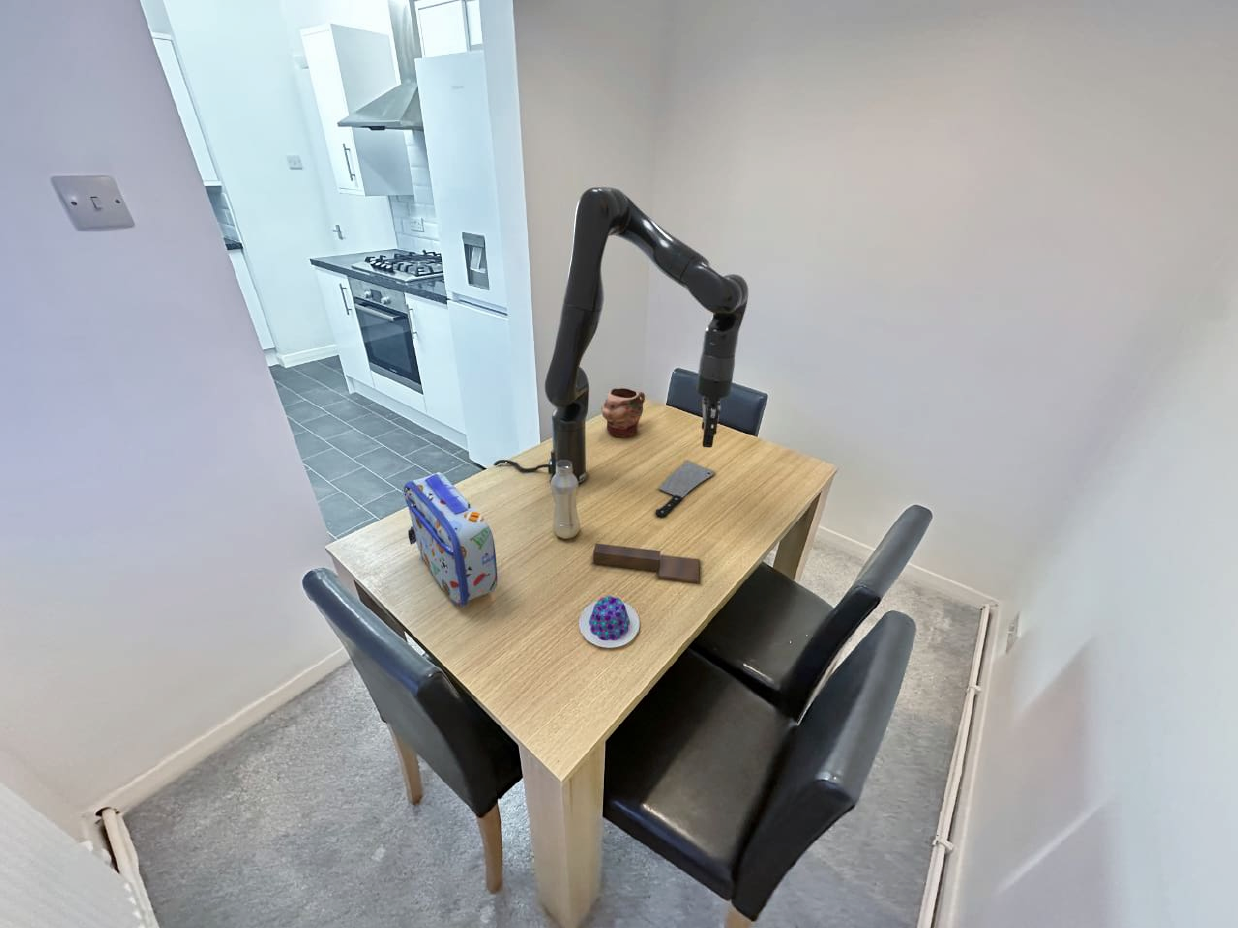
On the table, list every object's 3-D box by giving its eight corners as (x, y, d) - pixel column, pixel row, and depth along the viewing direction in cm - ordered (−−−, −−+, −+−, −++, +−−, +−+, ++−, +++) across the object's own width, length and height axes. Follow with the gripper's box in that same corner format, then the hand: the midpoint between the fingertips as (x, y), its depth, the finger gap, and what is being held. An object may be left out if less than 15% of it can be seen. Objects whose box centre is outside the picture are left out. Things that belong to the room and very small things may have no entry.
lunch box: (407, 549, 114) (386, 470, 103) (449, 531, 120) (434, 454, 109) (461, 621, 97) (444, 535, 85) (507, 596, 103) (497, 512, 91)
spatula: (591, 569, 110) (591, 557, 108) (597, 549, 116) (597, 537, 114) (698, 583, 108) (700, 571, 106) (698, 561, 114) (700, 549, 112)
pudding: (612, 592, 105) (613, 574, 102) (652, 627, 97) (653, 609, 94) (566, 621, 98) (566, 602, 95) (605, 661, 90) (605, 642, 87)
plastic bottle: (559, 545, 117) (556, 474, 107) (549, 529, 122) (545, 460, 112) (584, 537, 120) (583, 468, 109) (573, 522, 125) (571, 454, 114)
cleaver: (632, 505, 131) (664, 519, 126) (633, 503, 131) (664, 517, 126) (686, 461, 152) (715, 472, 147) (686, 460, 152) (716, 471, 147)
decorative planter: (627, 414, 179) (628, 379, 172) (654, 424, 173) (657, 387, 166) (592, 434, 166) (592, 396, 158) (621, 445, 159) (622, 406, 152)
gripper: (698, 360, 113) (690, 423, 122) (699, 383, 101) (690, 451, 110) (731, 362, 113) (721, 425, 121) (735, 386, 101) (724, 454, 109)
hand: (706, 437), depth 115 cm, fingers open, 8 cm apart
